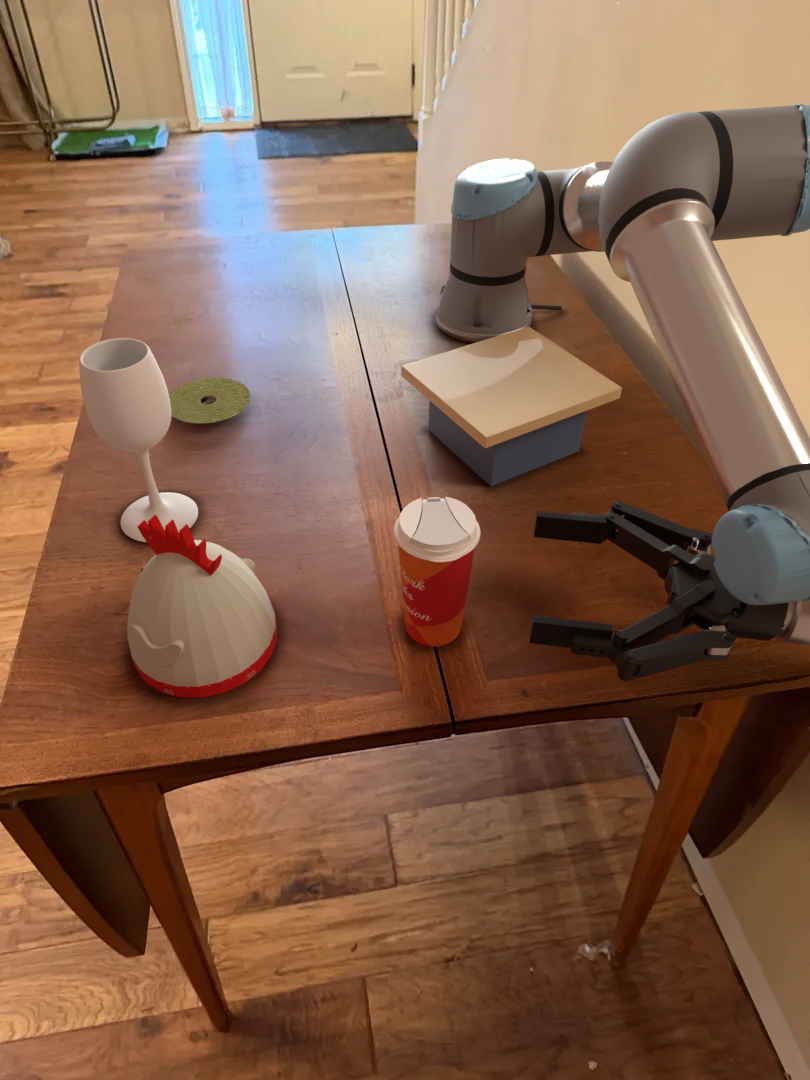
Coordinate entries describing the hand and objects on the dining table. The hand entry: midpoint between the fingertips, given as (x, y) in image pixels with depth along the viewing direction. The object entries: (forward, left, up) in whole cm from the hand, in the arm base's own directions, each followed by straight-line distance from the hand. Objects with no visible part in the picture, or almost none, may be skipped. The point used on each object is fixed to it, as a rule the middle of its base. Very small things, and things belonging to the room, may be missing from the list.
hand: (532, 573), depth 70 cm
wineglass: (+25, -36, -9) cm, 44 cm away
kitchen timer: (+27, -16, -9) cm, 32 cm away
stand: (-18, -28, -9) cm, 34 cm away
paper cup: (+7, -6, -9) cm, 13 cm away
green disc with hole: (+12, -54, -9) cm, 56 cm away
